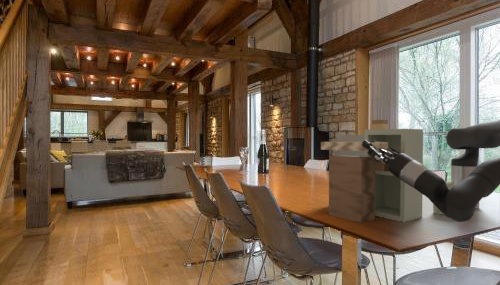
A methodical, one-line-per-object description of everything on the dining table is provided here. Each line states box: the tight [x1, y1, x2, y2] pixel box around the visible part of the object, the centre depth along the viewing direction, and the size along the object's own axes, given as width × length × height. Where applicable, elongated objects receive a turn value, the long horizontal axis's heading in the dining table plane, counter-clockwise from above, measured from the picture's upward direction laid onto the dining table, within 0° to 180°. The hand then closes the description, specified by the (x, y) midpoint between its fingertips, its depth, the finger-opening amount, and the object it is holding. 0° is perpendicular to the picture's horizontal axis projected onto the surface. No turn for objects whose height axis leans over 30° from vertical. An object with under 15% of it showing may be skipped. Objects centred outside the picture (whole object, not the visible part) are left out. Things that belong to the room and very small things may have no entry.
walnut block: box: [328, 155, 376, 224], centre depth 118 cm, size 8×14×22 cm, turn 35°
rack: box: [364, 119, 424, 223], centre depth 121 cm, size 12×16×36 cm
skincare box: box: [432, 181, 454, 216], centre depth 124 cm, size 6×4×12 cm
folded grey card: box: [336, 134, 365, 157], centre depth 138 cm, size 14×6×30 cm, turn 84°
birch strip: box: [320, 141, 388, 152], centre depth 118 cm, size 26×4×3 cm, turn 35°
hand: (367, 142), depth 113 cm, fingers closed on birch strip, 4 cm apart
